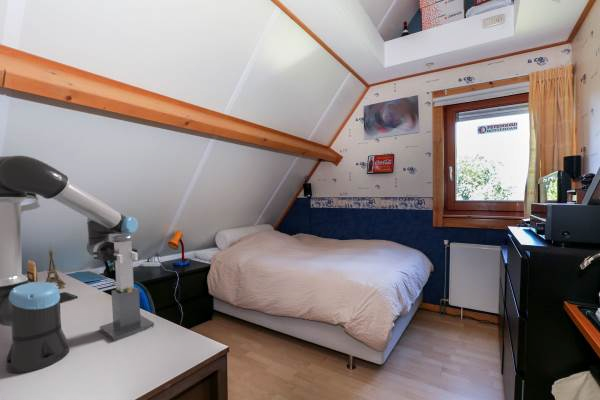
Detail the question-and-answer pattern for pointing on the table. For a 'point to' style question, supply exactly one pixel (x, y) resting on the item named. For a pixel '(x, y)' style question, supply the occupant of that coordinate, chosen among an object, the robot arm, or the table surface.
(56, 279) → the eiffel tower
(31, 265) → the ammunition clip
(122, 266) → the column
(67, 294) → the phone
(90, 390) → the table surface
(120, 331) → the jack stand base
